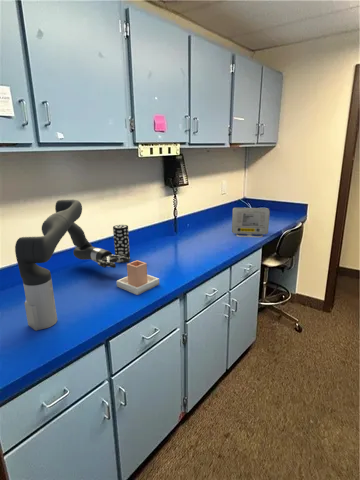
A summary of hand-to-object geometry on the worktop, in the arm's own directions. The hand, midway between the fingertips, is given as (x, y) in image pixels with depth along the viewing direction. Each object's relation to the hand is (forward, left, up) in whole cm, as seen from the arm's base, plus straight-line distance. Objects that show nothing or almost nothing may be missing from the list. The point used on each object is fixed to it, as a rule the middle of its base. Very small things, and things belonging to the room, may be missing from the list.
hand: (122, 263), depth 148 cm
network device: (+109, -13, -9) cm, 110 cm away
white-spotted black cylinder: (+18, +21, -9) cm, 29 cm away
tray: (0, -11, -9) cm, 14 cm away
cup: (0, -11, -8) cm, 13 cm away
